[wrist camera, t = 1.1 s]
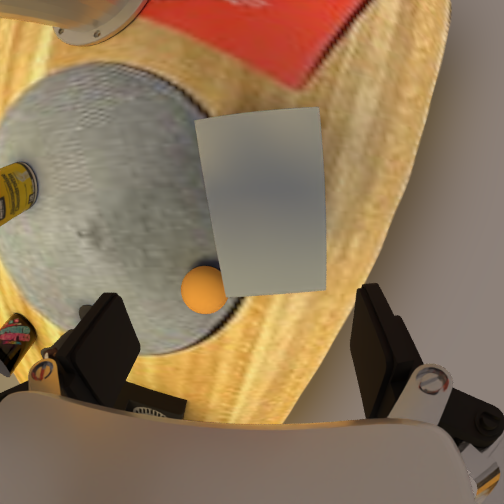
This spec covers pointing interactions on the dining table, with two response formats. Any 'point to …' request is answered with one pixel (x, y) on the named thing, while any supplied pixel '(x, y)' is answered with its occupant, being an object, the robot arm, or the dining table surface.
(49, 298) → the dining table surface
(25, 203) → the pill bottle
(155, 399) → the coffee maker
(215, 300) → the ball
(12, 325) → the supplement container
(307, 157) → the grey rectangular block
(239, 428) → the robot arm
